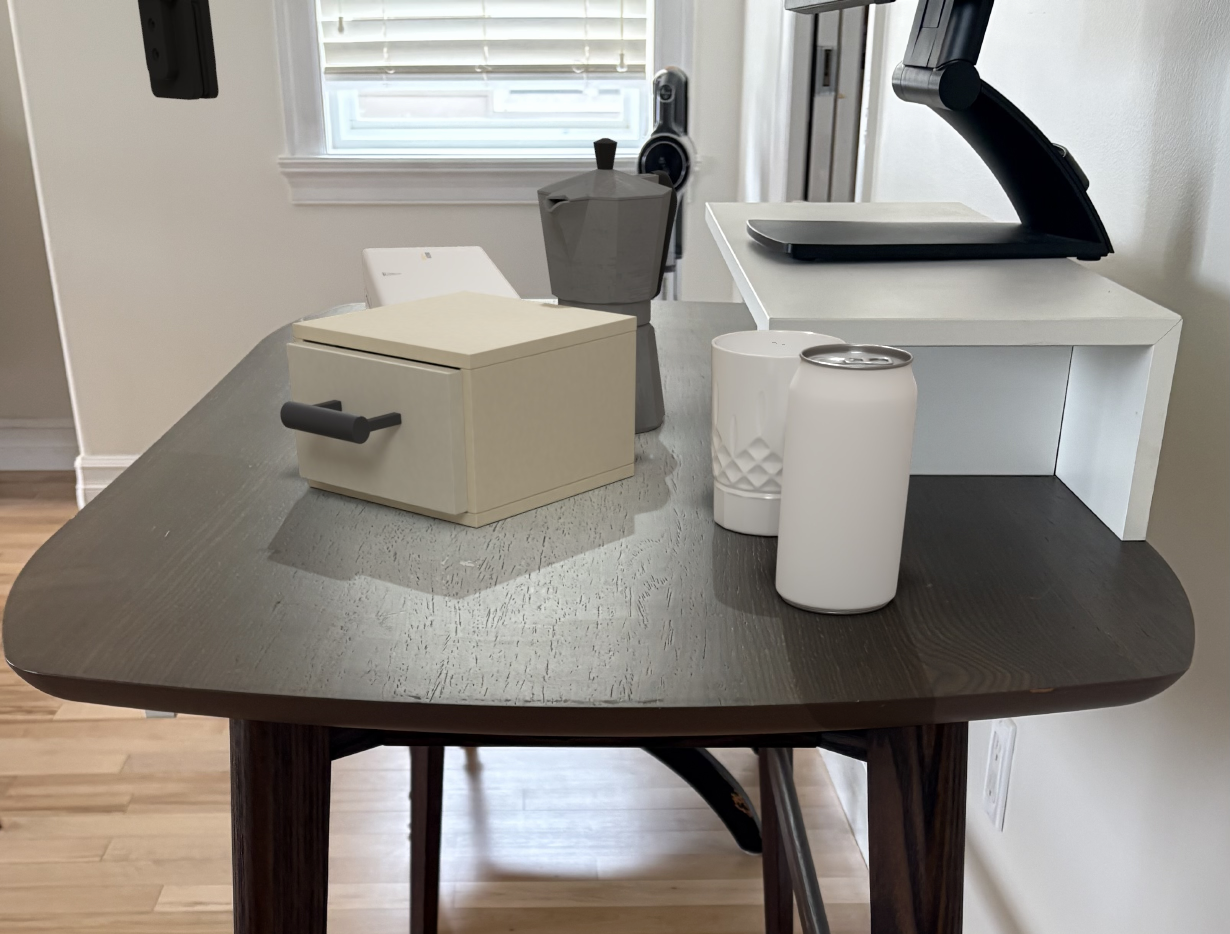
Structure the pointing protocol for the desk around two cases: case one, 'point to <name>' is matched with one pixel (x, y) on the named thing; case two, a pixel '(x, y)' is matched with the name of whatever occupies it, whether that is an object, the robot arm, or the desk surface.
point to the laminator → (429, 274)
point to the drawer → (378, 424)
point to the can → (845, 478)
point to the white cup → (752, 423)
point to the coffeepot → (613, 255)
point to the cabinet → (513, 392)
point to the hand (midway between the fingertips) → (185, 96)
